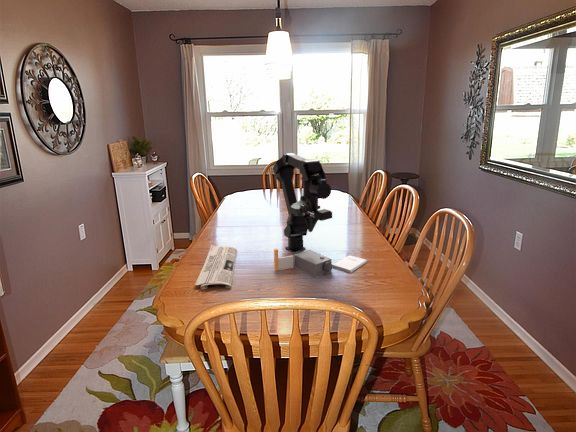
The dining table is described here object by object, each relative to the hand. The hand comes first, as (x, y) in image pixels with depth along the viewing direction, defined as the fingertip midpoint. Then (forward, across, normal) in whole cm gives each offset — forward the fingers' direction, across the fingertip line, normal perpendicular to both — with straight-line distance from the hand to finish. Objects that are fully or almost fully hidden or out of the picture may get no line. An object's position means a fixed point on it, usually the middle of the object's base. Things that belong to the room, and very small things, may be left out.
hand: (310, 231), depth 148 cm
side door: (+12, 0, -13) cm, 18 cm away
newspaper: (+13, -17, -32) cm, 39 cm away
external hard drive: (+13, +13, +9) cm, 20 cm away
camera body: (+12, +7, -5) cm, 15 cm away
